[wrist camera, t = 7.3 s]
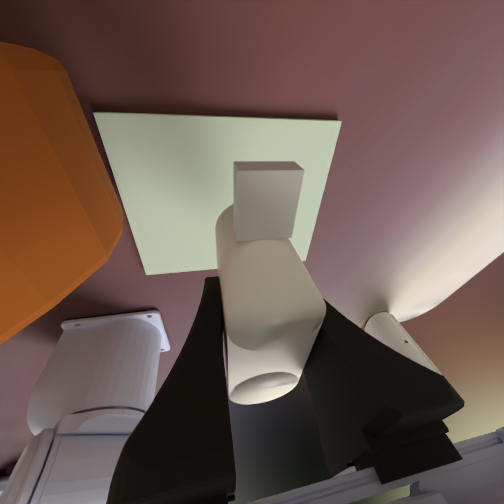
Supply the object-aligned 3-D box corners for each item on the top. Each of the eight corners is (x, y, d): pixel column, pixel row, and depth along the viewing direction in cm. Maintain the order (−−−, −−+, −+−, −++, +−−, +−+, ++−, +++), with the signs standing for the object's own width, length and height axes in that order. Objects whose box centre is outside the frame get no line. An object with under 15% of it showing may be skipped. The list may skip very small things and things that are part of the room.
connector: (219, 313, 15) (229, 409, 11) (210, 143, 9) (223, 210, 4) (265, 308, 16) (292, 396, 11) (288, 144, 9) (370, 204, 5)
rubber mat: (147, 271, 21) (146, 274, 21) (96, 111, 13) (93, 112, 13) (303, 257, 24) (305, 260, 24) (338, 120, 16) (341, 121, 16)
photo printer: (367, 314, 34) (433, 404, 25) (393, 308, 35) (467, 395, 25) (353, 347, 41) (401, 429, 31) (374, 342, 41) (428, 422, 32)
